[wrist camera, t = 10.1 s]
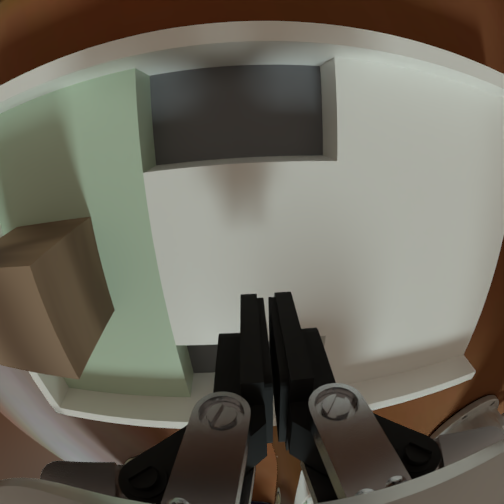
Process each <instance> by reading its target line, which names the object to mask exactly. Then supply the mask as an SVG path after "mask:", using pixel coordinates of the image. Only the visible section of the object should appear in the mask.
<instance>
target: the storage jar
mask: <svg viewBox="0 0 504 504" xmlns="http://www.w3.org/2000/svg"><path fill="white" fill-rule="evenodd" d="M251 504H270V503H266V502H259V501H251Z"/></svg>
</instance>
